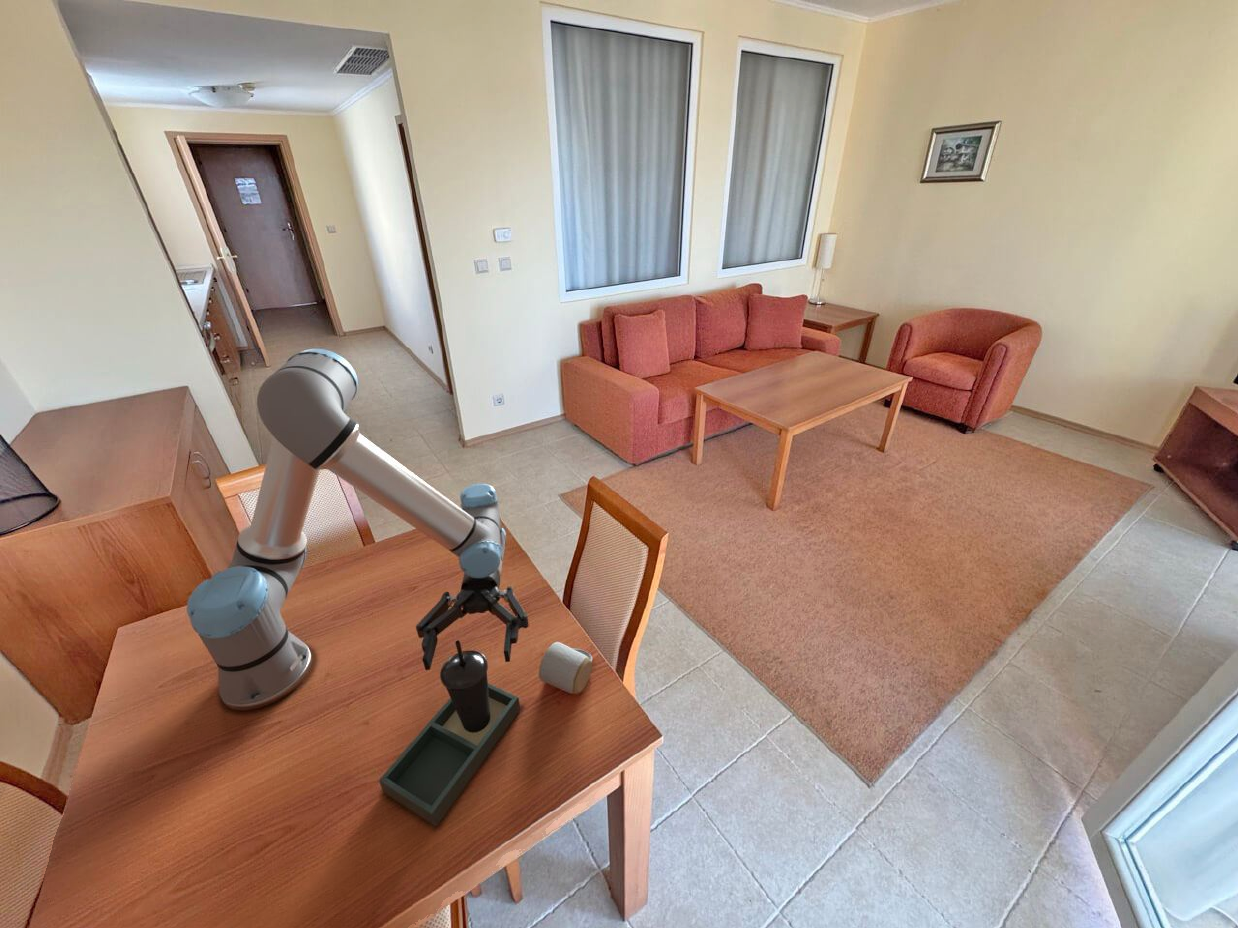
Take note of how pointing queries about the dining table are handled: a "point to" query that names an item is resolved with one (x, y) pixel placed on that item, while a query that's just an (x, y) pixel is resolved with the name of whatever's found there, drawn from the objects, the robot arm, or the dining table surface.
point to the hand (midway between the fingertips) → (466, 660)
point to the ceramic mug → (566, 668)
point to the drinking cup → (468, 687)
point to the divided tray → (446, 757)
